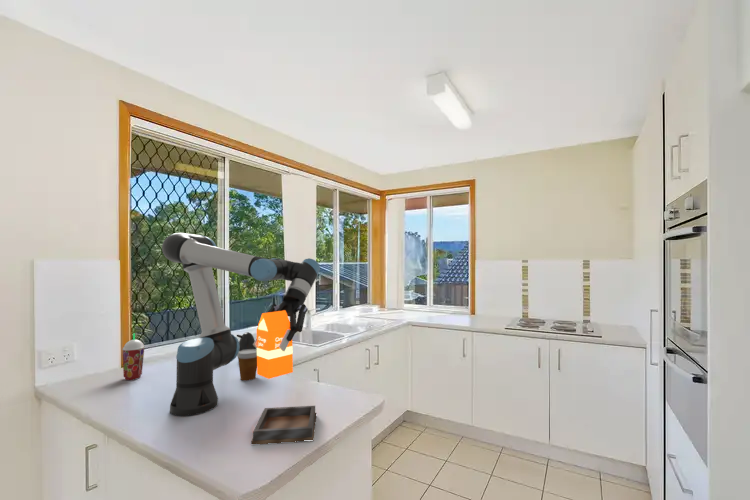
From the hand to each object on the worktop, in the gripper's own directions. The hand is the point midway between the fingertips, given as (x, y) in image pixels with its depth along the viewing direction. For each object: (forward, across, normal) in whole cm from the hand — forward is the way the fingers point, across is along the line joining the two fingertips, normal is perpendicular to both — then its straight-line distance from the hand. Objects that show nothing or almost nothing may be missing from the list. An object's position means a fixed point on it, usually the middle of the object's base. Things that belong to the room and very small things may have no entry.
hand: (268, 347), depth 111 cm
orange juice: (+4, 0, -9) cm, 10 cm away
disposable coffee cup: (-7, +39, -40) cm, 57 cm away
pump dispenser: (-23, +60, -56) cm, 86 cm away
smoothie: (+6, +88, -26) cm, 92 cm away
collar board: (+17, -7, -17) cm, 25 cm away
